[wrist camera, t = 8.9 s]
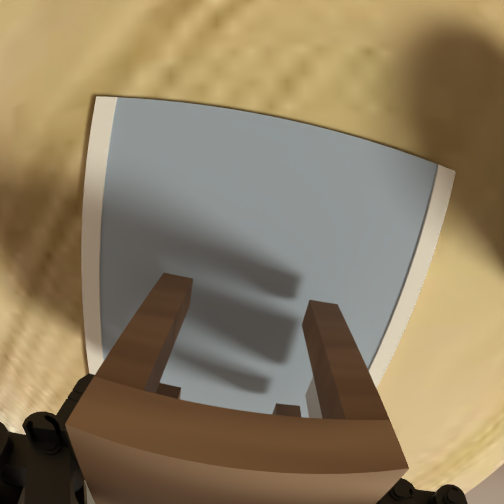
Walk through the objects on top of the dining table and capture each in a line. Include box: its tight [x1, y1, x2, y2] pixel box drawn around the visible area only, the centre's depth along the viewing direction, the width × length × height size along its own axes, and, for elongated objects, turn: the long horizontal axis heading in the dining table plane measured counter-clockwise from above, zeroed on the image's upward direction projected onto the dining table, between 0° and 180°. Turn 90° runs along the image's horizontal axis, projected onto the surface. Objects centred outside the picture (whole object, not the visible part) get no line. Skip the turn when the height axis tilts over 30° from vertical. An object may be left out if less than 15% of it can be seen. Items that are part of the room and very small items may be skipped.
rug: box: [81, 96, 456, 418], centre depth 15 cm, size 20×16×1 cm
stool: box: [65, 273, 409, 504], centre depth 10 cm, size 7×7×8 cm
